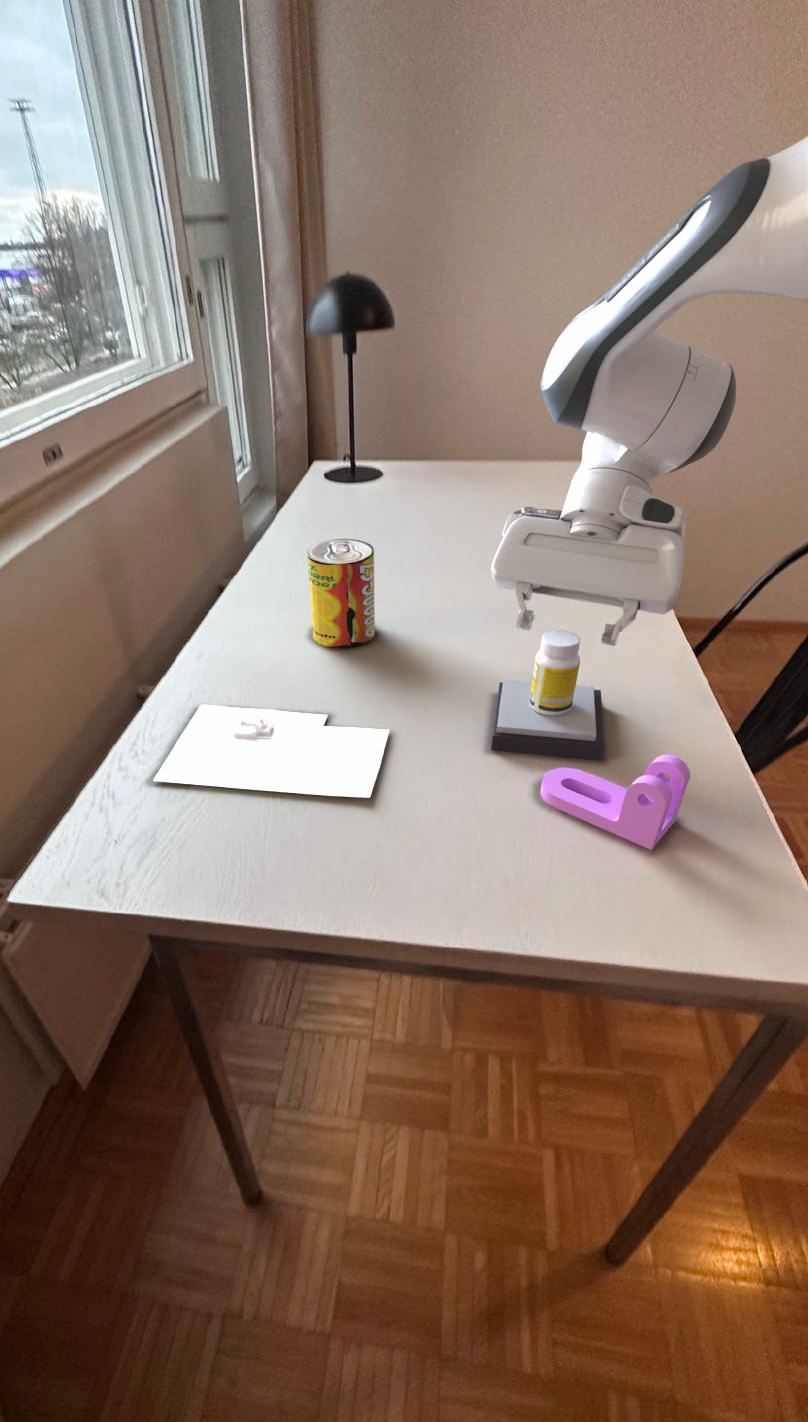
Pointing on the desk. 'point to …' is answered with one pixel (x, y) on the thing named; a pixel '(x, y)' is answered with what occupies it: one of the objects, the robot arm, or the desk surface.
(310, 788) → the paper
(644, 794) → the bracket
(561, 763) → the desk surface
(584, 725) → the scale
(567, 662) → the supplement bottle
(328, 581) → the beverage can
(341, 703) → the desk surface
